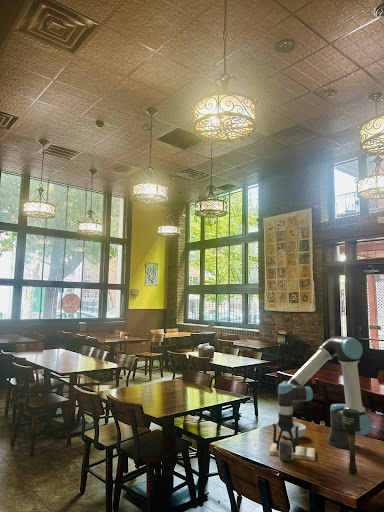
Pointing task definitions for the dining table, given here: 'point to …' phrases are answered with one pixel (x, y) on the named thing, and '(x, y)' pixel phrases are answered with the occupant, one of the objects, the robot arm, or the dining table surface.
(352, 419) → the stick grenade
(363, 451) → the dining table surface
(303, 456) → the maple board
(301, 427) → the cereal bowl
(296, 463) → the dining table surface
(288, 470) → the dining table surface
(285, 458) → the marking gauge
